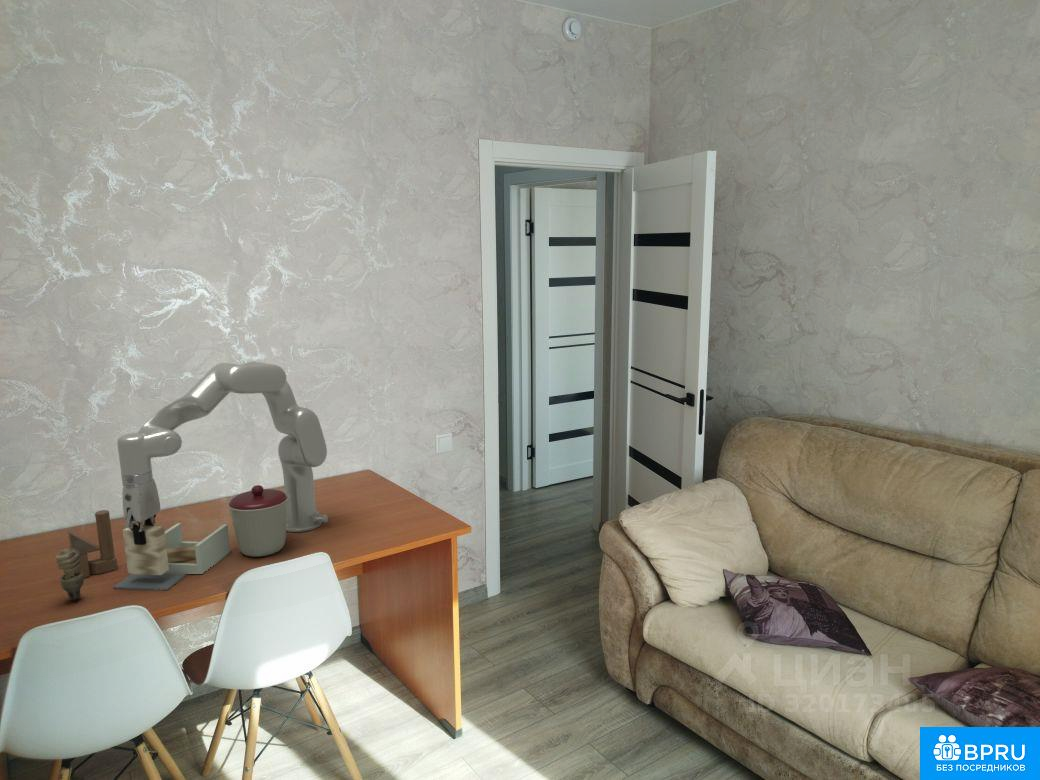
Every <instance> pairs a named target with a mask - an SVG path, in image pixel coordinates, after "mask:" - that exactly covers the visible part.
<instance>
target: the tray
mask: <svg viewBox="0 0 1040 780" xmlns="http://www.w3.org/2000/svg"><path fill="white" fill-rule="evenodd" d="M164 531H165V540H166V549H172V548H181V547H190V546H195V553H196V562H197V564H190V563H168V566H169V570H168V571H166V572H165V573H164V574H203V573H204V572H205V571H206V572H208V571H209V570H210V569H211V568H212V567H214V566H215V565H216V564H218V563H219V561H220V562H221V560H222V559H224V558H225V557H226V556H227V555H228V554H230V553H231V546H230V545H231V544H230V536H229V534H230V533H229V526H228V523H227V524H226V523H224V524H222V525H221V526H219V527H218V528H216V529H215V530H214V531H213V532H211V533H210V534H209V535H207V536H206V537H204V538H203V539H201V541H184V535H183V526H182V522H181V523H180V522H177V523H176V524H174V525H173V526H171V527H170V528H168V529H167V530H164ZM213 565H214V566H213ZM210 567H211V568H210ZM208 569H209V570H208ZM206 572H205V573H206ZM205 573H204V574H205ZM204 574H203V575H204Z"/></svg>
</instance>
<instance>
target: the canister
mask: <svg viewBox="0 0 1040 780" xmlns="http://www.w3.org/2000/svg"><path fill="white" fill-rule="evenodd" d="M288 500H289V495H288V494H286V493H285V491H281V490H279V489H274V488H273V489H271V488H264V487H263V486H262V485H259V484H257V485H253V486H252V487H251V490H248V491H245V492H241V493H239V494H237V495H235V496H234V497H233V498H231V499H230V500H228V501H227V503H226V507H227V508H228V509H229V511H230V516H231V520H232V525H233V531H234V534H235V538H236V541H237V546H238V548H239V551H240V552H241V553H242V554H243V555H245V556H246V557H251V558H252V557H253V558H255V557H256V558H258V557H259V558H260V557H266V556H270V555H274V554H276V553H277V552H280V550H282V549H283V548H284V547H285V546H284V545H285V544H286V539H287V531H286V525H287V501H288Z"/></svg>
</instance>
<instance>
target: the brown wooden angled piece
mask: <svg viewBox="0 0 1040 780" xmlns="http://www.w3.org/2000/svg"><path fill="white" fill-rule="evenodd" d="M94 513H95V514H94V517H95V523H96V531H97V539H98V540H97V541H98V545H97V544H95V543H93V542H92V541H90V540H88V539H86V538H84V537H82V536H81V535H78V534H77V533H75V532H74V531H72V530H70V529H68V530H67V533H68V540H69V546H70V547H69V548H75V549H78V550H79V551H80V555H79V556H80V563H81V564H80V566H79V567H78V568H77V572H81V573H82V574H83V579H85V578H88V577H90V576H91V575H100V574H105V573H108V572H112V571H116V570H118V569H119V567H118V559H117V557H116V554H115V547H114V540H113V531H112V524H111V516H110V515H111V514H110V511H109V509H108V510H107V509H103V510H98V511H96V512H94ZM98 551H99V553H100V557H99V558H96V559H91V560H89V558H88V554H89V553H93V552H94V553H95V552H98Z"/></svg>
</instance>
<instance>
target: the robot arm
mask: <svg viewBox="0 0 1040 780" xmlns="http://www.w3.org/2000/svg"><path fill="white" fill-rule="evenodd" d="M230 393H234V394H240V395H241V394H242V395H243V394H244V395H246V394H250V395H252V394H262V395H263V397H264V399H265V402H266V404H267V406H268V409H269V412H270V416H271V419H272V422H273V425H274V428H275V429H276V431H277V432H279V433H280V434H284V435H286V436H284V437H282V439H281V440H280V441H279V444H278V447H277V450H278V451H277V452H278V457H279V461H280V464H281V468H282V469H281V470H282V474H283V488H284V489H283V490H284V493H286V494H288V495H289V500H288V501H287V525H286V532H289V533H302V532H308V531H312V530H316V529H317V528H319V527H320V526H322V523H328V521H329V519H328V516H327V514H320V511H319V510H318V509H316V497H315V482H314V471H313V469H312V468H317V467H320V466H321V465H322V464H324V462H325V461H326V460H327V459H326V458H327V454H328V448H327V443H326V440H325V436H324V433H323V432H324V431H323V429H322V427H321V423H320V422H321V421H320V419H319V417H318V416H317V414H316V413H315V412H314V411H313V410H311V409H309V408H307V407H302V406H299V405H298V404H297V400H296V398H295V395H294V392H293V389H292V388H291V386H290V384H289V382H288V381H287V374H286V372H285V370H284V369H283V367H281V366H279V365H277V364H274V363H273V364H272V363H263V362H259V361H257V362H256V361H248V362H245V363H243V364H237V363H229V362H220V363H218V364H216V365H214V366H213V367H211V369H209V371H207V372H206V374H204V376H203V377H201V379H200V380H199V381H198V382H197V383H196V384H195V385H194V386H193V387H192V388H191V389H189V390H188V392H186V393H185V394H184V395H183V396H181V397H179V398H177V399H176V400H174V401H172V402H171V403H169V404H167V405H166V406H163V407H162V408H161V409H159V410H158V411H157V412H156V413H154V414H153V415H152V416H150V418H149V419H148V420H147V421H146V422H145V423H144V424H143V425H142V426H141V427H140V429H138V432H133V433H126V434H123V435H120V436H119V438H118V439H117V441H116V443H117V450H118V451H117V452H118V457H119V465H120V474H121V476H120V477H121V481H122V511H123V512H122V513H123V518H124V521H125V523H124V528H129V529H131V531H132V532H133V537H134V544H135V545H145V544H146V537H145V531H143V526H155V523H156V521H155V519H156V517H157V514H158V513H160V511H161V502H160V497H159V491H158V487H157V484H156V481H155V478H153V476H154V475H153V468H152V460H151V459H152V458H161V457H162V458H163V457H168V456H169V457H170V456H173V455H175V454H176V453H177V452H178V451H179V450H180V449H181V448H182V443H183V441H182V437H181V436H180V434H179V433H178V432H176V431H174V430H175V429H177V428H178V427H180V426H181V425H184V424H185V423H188V422H190V421H191V422H192V421H195V420H198V419H201V418H203V417H207V416H208V415H210V414H211V413H212V412H213V411H214V410H215V408H216V407H217V406H219V404H220V403H221V402H222V401H223V400H224V399H225V398H226V397H227V396H228V395H229V394H230Z"/></svg>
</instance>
